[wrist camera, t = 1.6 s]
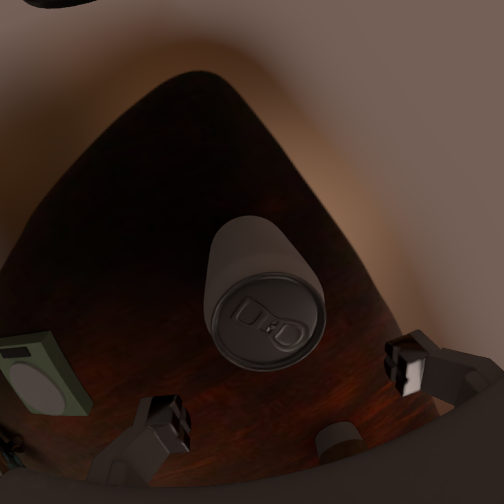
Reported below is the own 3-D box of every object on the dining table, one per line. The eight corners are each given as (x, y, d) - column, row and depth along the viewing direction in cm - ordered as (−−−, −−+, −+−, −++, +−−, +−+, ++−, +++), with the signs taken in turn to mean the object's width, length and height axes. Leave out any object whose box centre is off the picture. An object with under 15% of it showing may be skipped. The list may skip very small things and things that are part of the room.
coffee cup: (370, 428, 35) (408, 505, 21) (322, 456, 36) (348, 533, 22) (349, 406, 32) (392, 497, 18) (295, 437, 33) (320, 530, 19)
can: (257, 299, 26) (281, 392, 15) (195, 262, 25) (176, 343, 13) (300, 241, 25) (359, 306, 14) (238, 198, 24) (254, 234, 12)
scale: (-3, 338, 25) (-15, 350, 22) (50, 330, 26) (38, 345, 23) (37, 402, 29) (29, 416, 26) (93, 402, 29) (86, 419, 26)
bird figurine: (-32, 410, 28) (-21, 501, 15) (-28, 393, 27) (-18, 498, 14) (21, 426, 38) (39, 511, 25) (31, 412, 37) (51, 508, 24)
